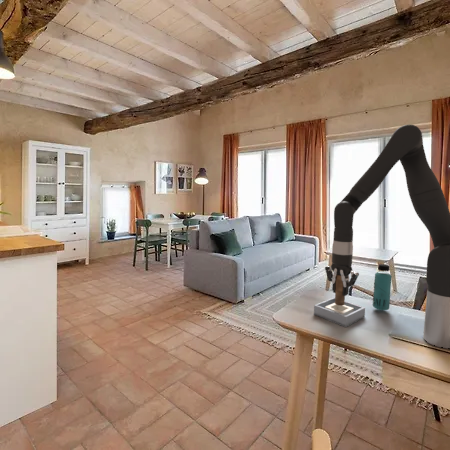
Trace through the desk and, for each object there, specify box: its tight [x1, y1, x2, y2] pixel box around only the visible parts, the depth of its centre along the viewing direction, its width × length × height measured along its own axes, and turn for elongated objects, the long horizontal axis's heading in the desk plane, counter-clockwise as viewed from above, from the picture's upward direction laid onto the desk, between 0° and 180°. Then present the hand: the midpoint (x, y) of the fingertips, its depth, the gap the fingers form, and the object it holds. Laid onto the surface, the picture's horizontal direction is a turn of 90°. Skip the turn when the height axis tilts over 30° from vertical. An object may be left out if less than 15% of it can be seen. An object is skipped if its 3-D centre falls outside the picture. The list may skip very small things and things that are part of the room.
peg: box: [334, 275, 346, 306], centre depth 118 cm, size 4×4×12 cm
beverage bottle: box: [372, 263, 393, 311], centre depth 123 cm, size 6×7×20 cm
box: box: [313, 296, 366, 328], centre depth 119 cm, size 14×14×4 cm
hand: (340, 293), depth 118 cm, fingers closed on peg, 3 cm apart
